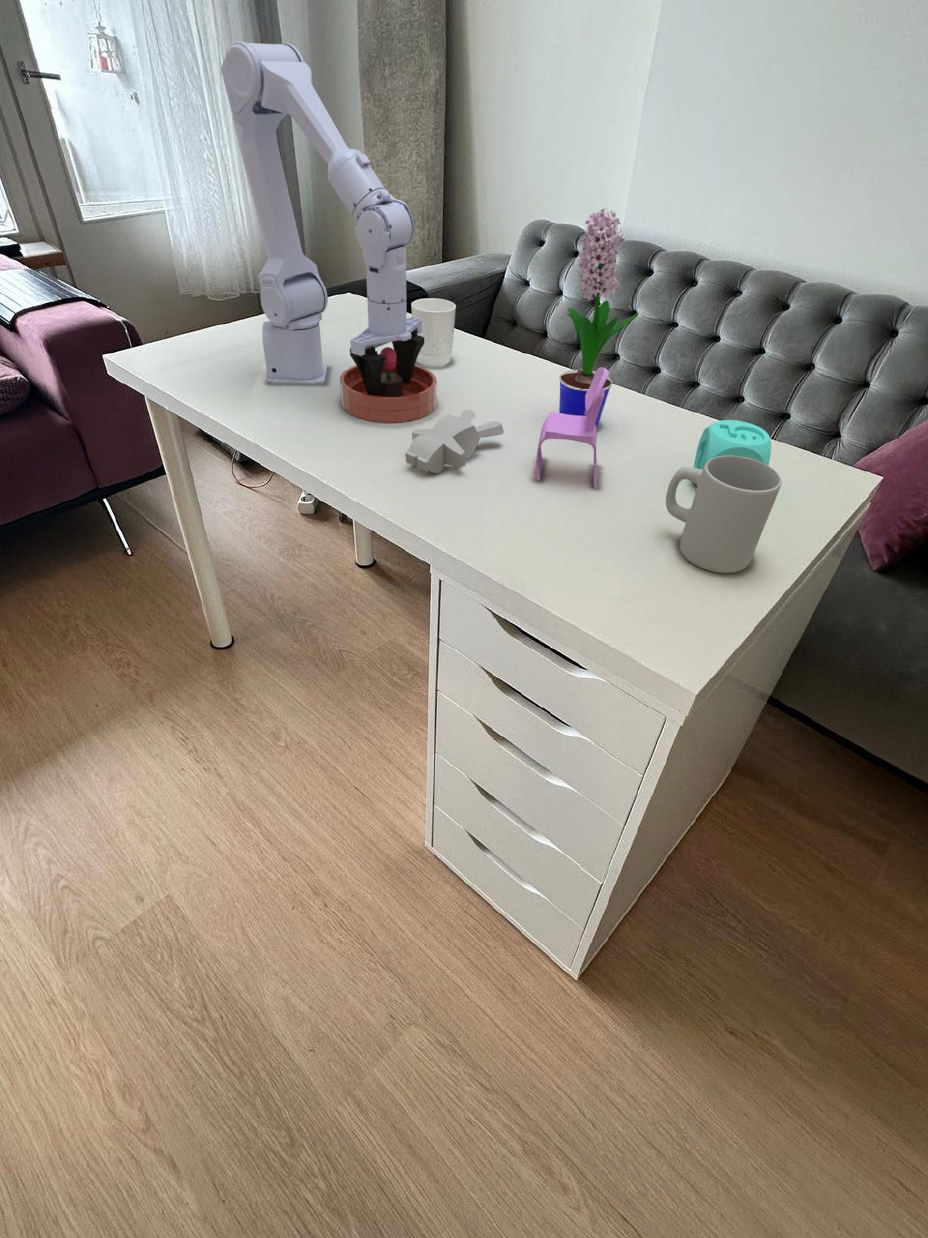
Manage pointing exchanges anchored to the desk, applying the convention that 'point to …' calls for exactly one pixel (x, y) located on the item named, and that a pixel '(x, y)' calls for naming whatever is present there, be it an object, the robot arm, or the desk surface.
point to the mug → (724, 511)
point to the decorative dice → (733, 442)
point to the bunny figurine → (448, 442)
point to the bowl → (389, 409)
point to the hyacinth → (596, 332)
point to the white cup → (435, 329)
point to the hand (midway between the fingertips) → (389, 388)
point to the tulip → (390, 375)
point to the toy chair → (576, 422)
